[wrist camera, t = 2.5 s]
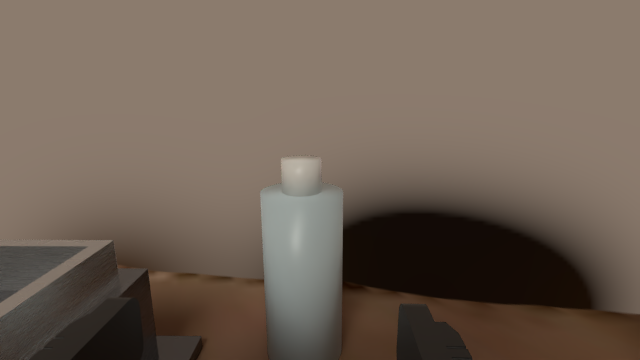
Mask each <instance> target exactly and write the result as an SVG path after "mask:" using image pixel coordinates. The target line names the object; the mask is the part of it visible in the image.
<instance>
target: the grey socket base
mask: <svg viewBox="0 0 640 360" xmlns="http://www.w3.org/2000/svg"><path fill="white" fill-rule="evenodd" d="M110 297H121V298H136V299H137V300H138V302H139V306H140V314H141V323H142V332H143V342H144V347H143V353H142V357H141V359H140V360H196V358H197V356H198V354H199V352H200V350H201V348H202V338H201V336H156V331H155V323H154V315H153V307H152V299H151V291H150V283H149V275H148V269H118V268H117V261H116V254H115V248H114V241H113V240H0V360H29V359H30V358H31V357H32V356H33V355H34V354H36V353H37V352H38V351H39V350H42V349H43V347H44V346H45V345H46V344H47V343H48V342H49V341H51V340H52V339H55V336H56V335H57V334H59V333H60V332H61V331H62V330H63V329H64V328H66V327H67V326H68V325H69V324H71V323H72V322H74V321H76V320H78V319H80V318H82V317H83V316H85V315H87V314H91V313H92V312H93V311H94V310H95V309H96V308H97V307H98V306H99V305H101V304H102V303H103V302H104V301H105V300H106V299H107V298H110Z"/></svg>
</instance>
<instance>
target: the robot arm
mask: <svg viewBox="0 0 640 360" xmlns="http://www.w3.org/2000/svg"><path fill="white" fill-rule="evenodd" d="M143 347H144V342H143V332H142V323H141V314H140V306H139V302H138V300H137V299H136V298H121V297H110V298H107V299H106V300H105V301H104V302H103V303H102V304H101V305H99V306H98V307H97V308H96V309H95V310H94V311H93V312H92V313H91V314H87V315H85V316H83V317H82V318H80V319H78V320H76V321H74V322H72V323H71V324H69V325H68V326H67V327H66V328H64V329H63V330H62V331H61V332H60V333H59V334H57V335H56V336H55V339H52V340H51V341H49V342H48V343H47V344H46V345H45V346H44V347H43V349H42V350H39V351H38V352H37V353H36V354H34V355H33V356H32V357H31V358H30V359H29V360H140V359H141V357H142V353H143ZM397 360H472V356H471V355H470V353H469V351H468V349H466V346H465V344H464V342H463V340H462V339H461V337H460V335H459V333H458V332H456V331H455V330H454V329H453V328H452V327H451V326H449V325H448V324H447V323H446V322H434V319H433V317H432V315H431V313H430V311H429V309H428V307H427V305H426V304H400V307H399V319H398V335H397Z"/></svg>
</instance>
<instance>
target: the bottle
mask: <svg viewBox="0 0 640 360" xmlns="http://www.w3.org/2000/svg"><path fill="white" fill-rule="evenodd" d="M321 173H322V172H321V158H320V157H317V156H308V155H307V156H306V155H301V156H300V155H299V156H288V157H284V158H281V174H282V183H280V184H276V185H272V186H269V187H266V188H264V189H263V190H262V191H261V192H260V196H261V218H262V240H263V261H264V284H265V306H266V328H267V349H268V357H269V359H270V360H338V359H339V357H340V355H341V351H342V250H343V248H342V245H343V190H342V189H341V188H340V187H338V186H336V185H332V184H328V183H322V181H321V180H322V178H321V177H322V174H321Z"/></svg>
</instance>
